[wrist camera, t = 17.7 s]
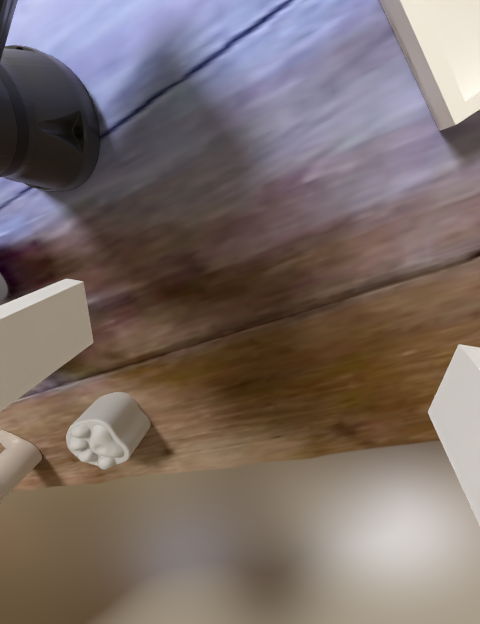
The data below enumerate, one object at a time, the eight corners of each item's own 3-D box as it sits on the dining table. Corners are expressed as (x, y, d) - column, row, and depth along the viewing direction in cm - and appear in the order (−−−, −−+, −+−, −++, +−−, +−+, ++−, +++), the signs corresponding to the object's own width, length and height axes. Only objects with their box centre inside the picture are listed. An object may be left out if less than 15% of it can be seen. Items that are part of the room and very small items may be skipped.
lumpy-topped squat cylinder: (156, 429, 58) (132, 468, 50) (111, 441, 63) (82, 479, 55) (125, 387, 55) (94, 421, 47) (80, 404, 60) (45, 437, 52)
